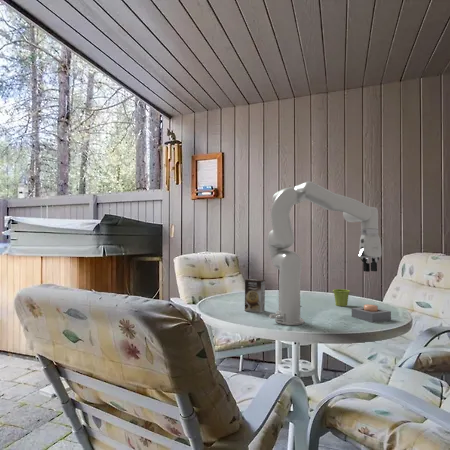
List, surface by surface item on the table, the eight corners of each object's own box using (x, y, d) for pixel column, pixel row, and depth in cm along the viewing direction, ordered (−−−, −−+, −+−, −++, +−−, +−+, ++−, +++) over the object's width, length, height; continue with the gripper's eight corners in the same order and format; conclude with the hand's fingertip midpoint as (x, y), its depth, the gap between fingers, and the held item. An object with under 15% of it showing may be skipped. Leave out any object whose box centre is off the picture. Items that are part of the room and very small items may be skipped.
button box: (372, 322, 141) (372, 313, 141) (351, 316, 152) (351, 308, 152) (391, 320, 146) (390, 311, 146) (369, 314, 157) (369, 306, 157)
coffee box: (244, 311, 163) (244, 279, 164) (249, 308, 168) (249, 278, 169) (260, 313, 159) (260, 280, 159) (265, 310, 164) (265, 279, 165)
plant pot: (339, 307, 174) (339, 291, 174) (329, 304, 183) (329, 289, 183) (353, 306, 176) (353, 291, 177) (343, 303, 185) (343, 288, 186)
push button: (371, 313, 145) (371, 307, 146) (361, 311, 151) (361, 304, 151) (380, 312, 148) (380, 306, 148) (370, 310, 153) (370, 304, 153)
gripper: (363, 232, 145) (363, 272, 144) (388, 233, 151) (389, 271, 150) (350, 232, 151) (350, 271, 150) (375, 233, 158) (376, 270, 157)
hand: (370, 270), depth 150 cm, fingers open, 4 cm apart
